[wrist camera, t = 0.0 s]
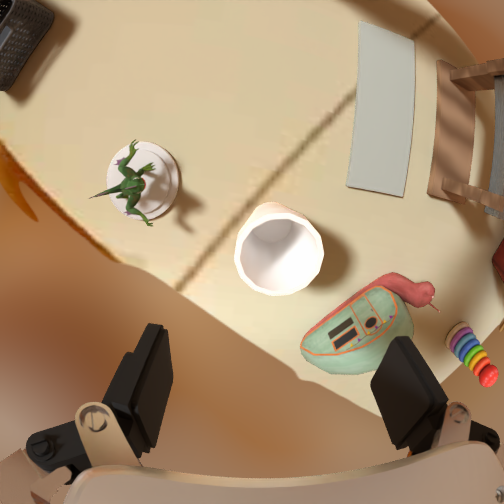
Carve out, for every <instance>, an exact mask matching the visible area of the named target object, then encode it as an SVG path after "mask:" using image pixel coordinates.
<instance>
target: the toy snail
mask: <svg viewBox="0 0 504 504" xmlns="http://www.w3.org/2000/svg"><path fill="white" fill-rule="evenodd" d="M434 293H435V288H434V287H433V285H432V284H431V283H430V282H428V281H427V282H421V283H414V282H412V281H411V280H409V279H407V278H406V277H404V276H402V275H400V274H397V273H393V272H392V273H389V274H385V275H383V276H381V277H379V278H378V279H376V280H375V281H373V282H372V283H370V284H369V285H367V286H366V287H364V288H363V289H361V290H360V291H358V292H357V293H356V294H355V295H353V296H352V297H351V298H349V299H348V300H347V301H345V302H344V303H343V304H341V305H340V306H339V307H337V308H336V309H335V310H333V311H332V312H331V313H330V314H328V315H327V316H326V317H324V318H323V319H322V320H321V321H320V322H319V323H317V324H316V325H315V326H314V327H313V328H311V329H310V330H309V331H308V332H307V333H306V334H305V335H304V337H303V339H302V342H301V345H300V349H301V354H302V355H303V357H304V358H305V359H306V361H308V362H310V363H311V364H313V365H315V366H317V367H318V368H320V369H322V370H324V371H326V372H328V373H329V374H343V375H359V374H363V373H366V372H370V371H374V370H377V369H378V367H379V365H380V363H381V361H382V359H383V357H384V355H385V353H386V351H387V349H388V346H389V344H390V342H391V341H392V340H393V339H394V338H395V337H396V336H409V337H410V339H411V340H412V337H413V334H414V326H413V322H412V319H411V316H410V314H409V312H408V310H407V307H406V305H405V303H404V302H407V303H409V304H411V305H412V306H414V307H417V308H420V307H424V306H425V305H427V304H429V305H431V306H432V307H433V308H435V307H434V306H433V305H432V304H430V301H431V300H432V298H434ZM435 309H436V308H435ZM436 310H438V309H436ZM438 312H439V313H440V311H439V310H438Z"/></svg>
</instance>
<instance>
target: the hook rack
mask: <svg viewBox="0 0 504 504" xmlns="http://www.w3.org/2000/svg"><path fill="white" fill-rule="evenodd" d="M495 75H504V58H503V59H496V60H490V61H487V63H484V64H478V65H473V66H468V67H463V68H459V69H457V68H456V67H454V66H452V65H450V64H449V63H447V62H445V61H443V60H438V61H437V112H436V128H435V139H434V149H433V157H432V164H431V171H430V177H429V183H428V189H427V193H428V194H430V195H434V196H437V197H441V198H444V199H448V200H451V201H455V202H458V203H461V204H465V200H466V198H469V199H471V200H474V201H476V202H479V203H481V204H483V205H486V206H488V207H491V208H493V209H495V210H498V211H500V212H503V208H504V197H503V196H500V195H498V194H495V193H492V192H489V191H486V190H483V189H480V188H477V187H474V186H471V185H468V184H469V178H470V171H471V163H472V155H473V145H474V131H475V91H478V90H491V89H495V86H494V76H495Z"/></svg>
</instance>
